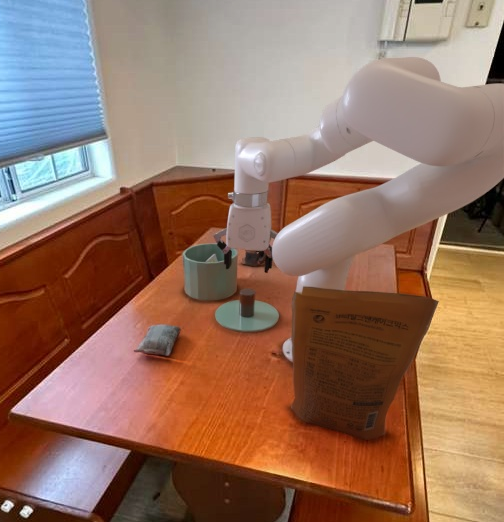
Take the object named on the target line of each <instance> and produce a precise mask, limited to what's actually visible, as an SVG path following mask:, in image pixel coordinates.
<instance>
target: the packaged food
mask: <svg viewBox="0 0 504 522" xmlns="http://www.w3.org/2000/svg"><path fill="white" fill-rule="evenodd" d="M181 330H182V329H181V327H179V326H176V325H171V324H153V325H150V326H148V327H147V331H146V334H144V337H143V338H142V340H141V342H140V343H139V344H138V345H137V347H136V348H135V349H133V352H134V353H141V354H148V355H157V356H160V355H161V356H165V357H170V356H171V354H172V352H173V349H174V345H175V344H176V342H177V340H178V338H179V336H180V334H181Z"/></svg>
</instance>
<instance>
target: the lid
mask: <svg viewBox="0 0 504 522" xmlns="http://www.w3.org/2000/svg"><path fill="white" fill-rule="evenodd" d="M214 318H215V321H216V322H217V324H218V325H220V326H221V327H223V328H226V329H227V330H229V331H232V332H233V331H234V332H239V333H258V332H263V331H266V330H269V329H271V328H273V327H274V326H275V325H277V323H278V322H279V319H280V313H279V311H278V310H277V308H276V307H274V306H273V305H271V304H270V303H267V302H264V301H262V300H256V290H255V289H252V288H243V289H240V290H239V299H235V300H231V301H228V302H224V303H223V304H221V305H220V306H218V307H217V308H216V309H215V313H214Z"/></svg>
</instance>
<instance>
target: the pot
mask: <svg viewBox="0 0 504 522" xmlns="http://www.w3.org/2000/svg"><path fill="white" fill-rule="evenodd" d="M230 250H231V251H232V264H231V266H230V268H229V269H226V264H224V253H223V252H222V250H221V249H220V248H219V247H218V246H217V242H211V243H199V244H195V245H192V246H189V247H188V248H186V249H185V250H184V251H183V253H182V269H183V286H184V288H183V289H184V292H185V294H186V295H187V296H189V298H193V299H196V300H199V301H219V300H224V299H228V298H230V297H231V296H234V294H235V293H236V292H237V290H238V264H239V263H238V259H239V258H238V257H239V256H238V255H239V251H238V249H232V248H231V249H230ZM213 254H216V257H217V260H218V262H206V261H207V260H208V259H209V258H210V257H211V256H212V255H213Z"/></svg>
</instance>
